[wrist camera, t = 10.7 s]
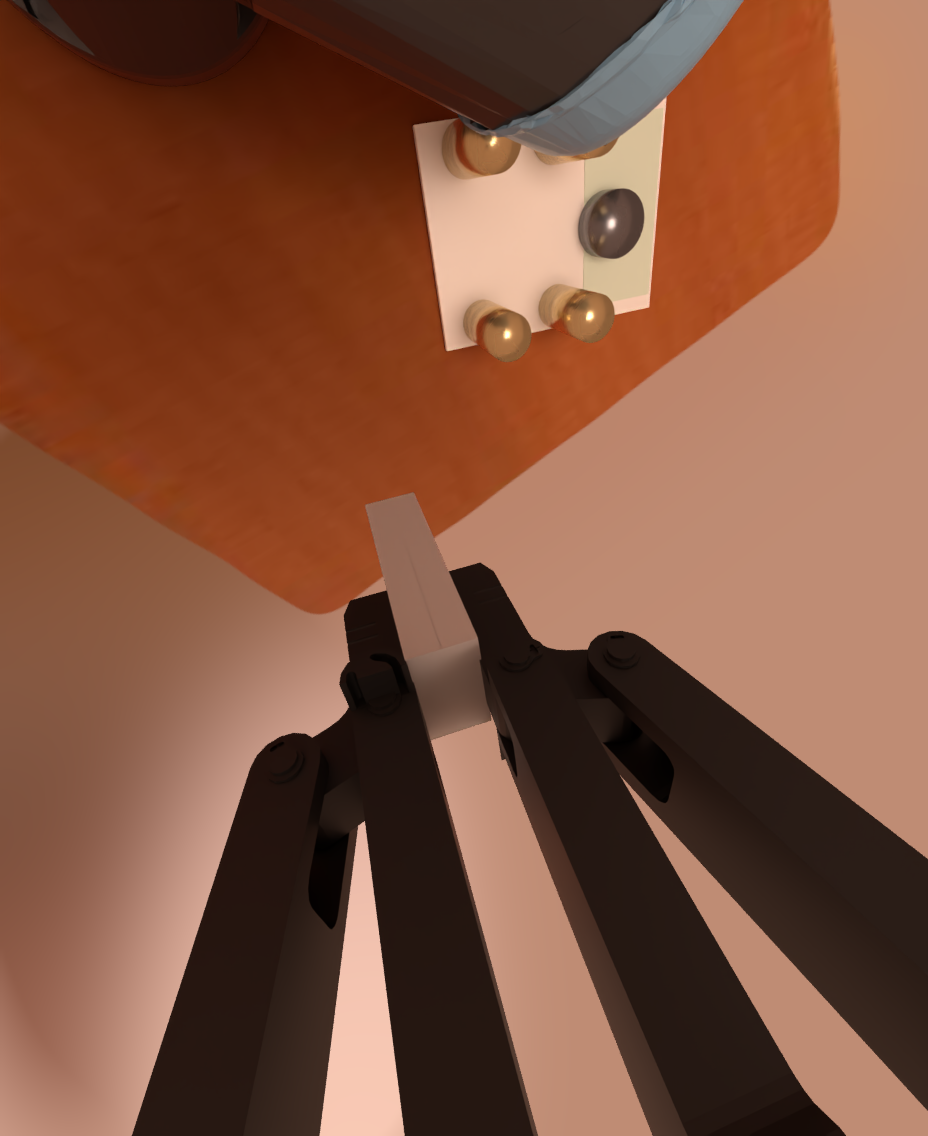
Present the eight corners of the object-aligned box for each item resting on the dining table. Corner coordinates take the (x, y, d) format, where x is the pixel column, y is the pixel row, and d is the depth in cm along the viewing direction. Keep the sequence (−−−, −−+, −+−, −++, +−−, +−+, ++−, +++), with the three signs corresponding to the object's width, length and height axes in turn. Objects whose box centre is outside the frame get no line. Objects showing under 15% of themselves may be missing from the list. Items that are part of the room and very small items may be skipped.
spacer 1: (438, 121, 30) (465, 104, 26) (484, 114, 31) (520, 96, 26) (445, 183, 32) (472, 178, 27) (489, 175, 32) (523, 169, 28)
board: (412, 126, 30) (414, 124, 30) (662, 88, 33) (667, 86, 32) (445, 349, 38) (447, 351, 38) (645, 306, 41) (649, 307, 40)
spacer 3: (530, 107, 31) (573, 88, 26) (574, 100, 32) (624, 81, 27) (532, 168, 33) (573, 161, 28) (574, 161, 33) (621, 153, 29)
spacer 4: (538, 286, 37) (574, 297, 32) (575, 281, 38) (616, 290, 33) (538, 330, 39) (573, 346, 34) (574, 324, 39) (612, 339, 35)
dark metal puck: (584, 187, 34) (598, 185, 33) (634, 191, 35) (651, 190, 34) (573, 255, 37) (586, 257, 35) (621, 258, 38) (636, 260, 36)
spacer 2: (460, 303, 36) (485, 317, 32) (499, 295, 37) (530, 308, 32) (465, 347, 38) (490, 366, 33) (503, 339, 39) (532, 356, 34)
